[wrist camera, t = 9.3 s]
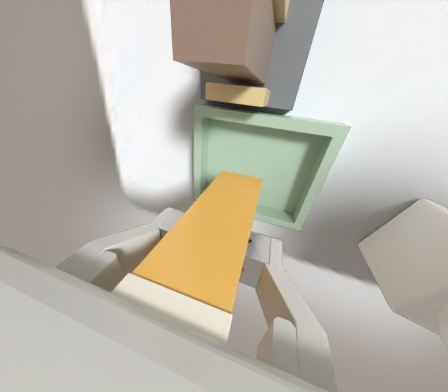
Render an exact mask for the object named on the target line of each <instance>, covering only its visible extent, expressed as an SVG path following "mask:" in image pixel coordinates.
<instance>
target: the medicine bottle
mask: <svg viewBox="0 0 448 392" xmlns="http://www.w3.org/2000/svg"><path fill="white" fill-rule="evenodd" d="M358 247H359V249H360V250H361V252H362V254H363V256H364V258H365V260H366V262H367V264H368V266H369V268H370V270H371V272H372V274H373V276H374V278H375V280H376V282H377V284H378V285H379V287H380V289H381V291H382V293H383V295H384V297H385V299H386V301H387V303H388V305H389V307H390V308H391V310H392V311H394V312H395V313H397V314H399V315H401V316H403V317H405V318H407V319H409V320H411V321H413V322H415V323H417V324H419V325H420V326H422V327H424V328H426V329H428V330H430V331H432V332H434V333H436V334H438V335H439V336H440V337H441V339H442V340H443V342H444V344H445V345H446V347H447V348H448V208H446V207H444V206H441V205H439V204H437V203H435V202H433V201H430V200H428V199H424V198H423V199H420V200H418V201H416V202H415V203H414V204H412V205H411V206H410V207H408V208H407V209H405V210H404V211H403V212H401V213H400V214H398V215H397V216H396V217H394V218H393V219H392V220H390V221H389V222H387V223H386V224H385V225H383V226H382V227H380V228H379V229H378V230H376V231H375V232H374V233H372V234H371V235H369V236H368V237H367V238H365V239H364V240H362V241H361V242H360V243H359V244H358Z"/></svg>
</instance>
